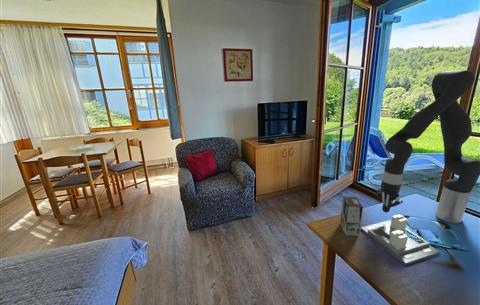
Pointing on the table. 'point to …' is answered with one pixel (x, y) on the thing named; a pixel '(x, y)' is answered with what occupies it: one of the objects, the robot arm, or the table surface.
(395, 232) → the tab
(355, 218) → the coffee box
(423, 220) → the table surface
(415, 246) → the white slotted board
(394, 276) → the table surface
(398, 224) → the tab
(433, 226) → the table surface
